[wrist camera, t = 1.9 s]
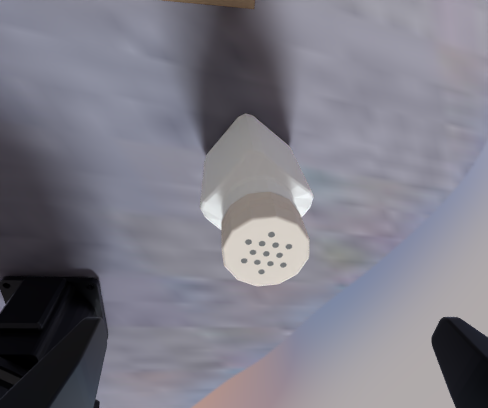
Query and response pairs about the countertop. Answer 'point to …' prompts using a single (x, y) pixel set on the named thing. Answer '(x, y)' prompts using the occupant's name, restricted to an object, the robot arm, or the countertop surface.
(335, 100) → the countertop surface
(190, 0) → the tower base block
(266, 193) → the pepper shaker
